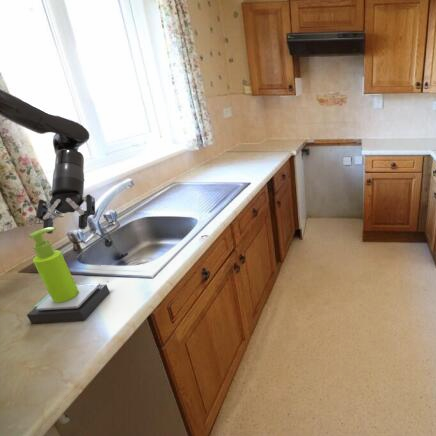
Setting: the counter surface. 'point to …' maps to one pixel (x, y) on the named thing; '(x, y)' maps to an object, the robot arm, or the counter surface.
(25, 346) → the counter surface
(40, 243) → the soap dispenser
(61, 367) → the counter surface
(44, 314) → the kitchen scale
